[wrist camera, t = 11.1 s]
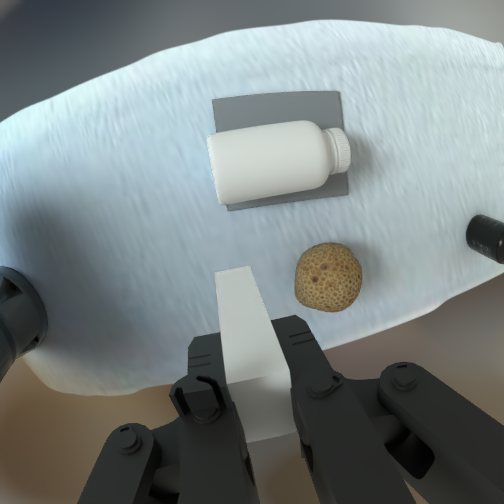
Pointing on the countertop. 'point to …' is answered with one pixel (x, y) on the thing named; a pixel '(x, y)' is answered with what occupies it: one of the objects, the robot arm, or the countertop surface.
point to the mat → (279, 111)
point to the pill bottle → (275, 159)
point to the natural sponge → (328, 277)
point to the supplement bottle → (486, 237)
